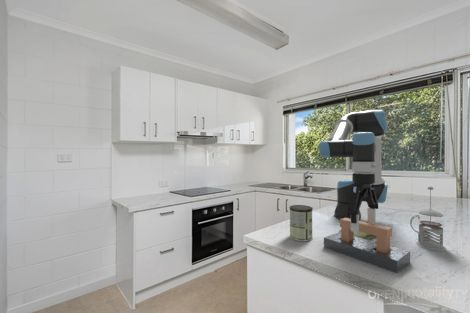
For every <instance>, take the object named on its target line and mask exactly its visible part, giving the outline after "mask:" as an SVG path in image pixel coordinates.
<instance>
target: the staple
mask: <svg viewBox="0 0 470 313" xmlns="http://www.w3.org/2000/svg"><path fill="white" fill-rule="evenodd" d="M339 227H340V228H341V229H340V230H341V240H343V241H346V242H351V241H353V240H354V232H353V231H351V219H349V218H339ZM392 229H393V228H392V227H390V226H385V225H382V224H372V223H368V221H367V222H366V221H363V220H359V231H360V232H364V233H367V234H371V235H375V236H376V237H375V242H376V251H379V252H383V253H386V254H387V253H388V252H390V246H391V237H392V235H393V234H392V233H393V230H392Z"/></svg>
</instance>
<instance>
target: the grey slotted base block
mask: <svg viewBox="0 0 470 313" xmlns="http://www.w3.org/2000/svg"><path fill="white" fill-rule="evenodd" d="M323 248H324V249H327V250H331V251H334V252H337V253H338V254H342V255H344V256H348V257H350V258H352V259H353V258H354V259H356V260H360V262H361V261H362V262H364V263H367V264H371V265H374V266H376V267H378V268H381V269H385V270H387V271H390V272H393V273H396V274H398V273H399V272H400V271H402V270H403V269H404V268H406V267H407V266H408V265H410V263H411V251H410V250H406V249H403V248H399V247H396V246H391V245H390V252H388V253H387V254H386V253H383V252H379V251H376V241H373V240H371V239H369V240H367V239H363V238H359V237H356V236H354V240H353V241H351V242H346V241H343V240H341V232H339V231H338V232H335V233H333V234H330V235H327V236H325V237H323Z"/></svg>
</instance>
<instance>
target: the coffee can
mask: <svg viewBox="0 0 470 313" xmlns="http://www.w3.org/2000/svg"><path fill="white" fill-rule="evenodd" d="M313 209H314V208H313V207H312V206H309V205H306V204H293V205H290V206H289V237H290V239H292V240H294V241H299V242H310V241H312V240H313V239H314V238H313Z"/></svg>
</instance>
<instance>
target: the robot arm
mask: <svg viewBox="0 0 470 313" xmlns="http://www.w3.org/2000/svg"><path fill="white" fill-rule="evenodd" d="M333 128H334V129H333V131H332V133H331V135H330V136H329V137H328V140H322V141H320V142H319V143H318V144H319V145H318V153H319V156H320V157H322V158H352V159H351V160H352V163H351V164H352V166H351V167H352V168H351V170H352V172H353V173H352V176H351V177H352V179H351V178H350V179H342V180H339V181H337V186H336V189H337V190H336V191H337V195H336V196H337V197H336V198H337V200H336V202H337V204H336V207H335V209H334V212H333V213H334V217H335V218H338V219H342V218H349V219H351V231H353V232H357V233H359V221H360V220H361V219H362V212H361V210H360V208H361V205H362V203H364V202H365V203H366V204H367V206H368V207H367V212H366V213H367V218H366V219H367V223H372V224H376V220H377V219H376V217H377V216H376V213H377V212H376V210H379V204H383V203H385V202H386V201H387V200H386V199H387V194H388V186H389V185H388V183H387V182H386V181H385V179H384V178H383V177H382V176H383V175H382V137H383V136H384V135H385V132H388V130H389V129H388V122H387V117H386V112H385V110H382V109H371V110H365V111H354V112H350V113H346V114H345V115H343V116H341V117H339V118H338V119H337V120H336V122H335V123H334V127H333ZM352 133H353V134H352ZM350 134H352V138H351V139H348V137H349V136H350Z"/></svg>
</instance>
